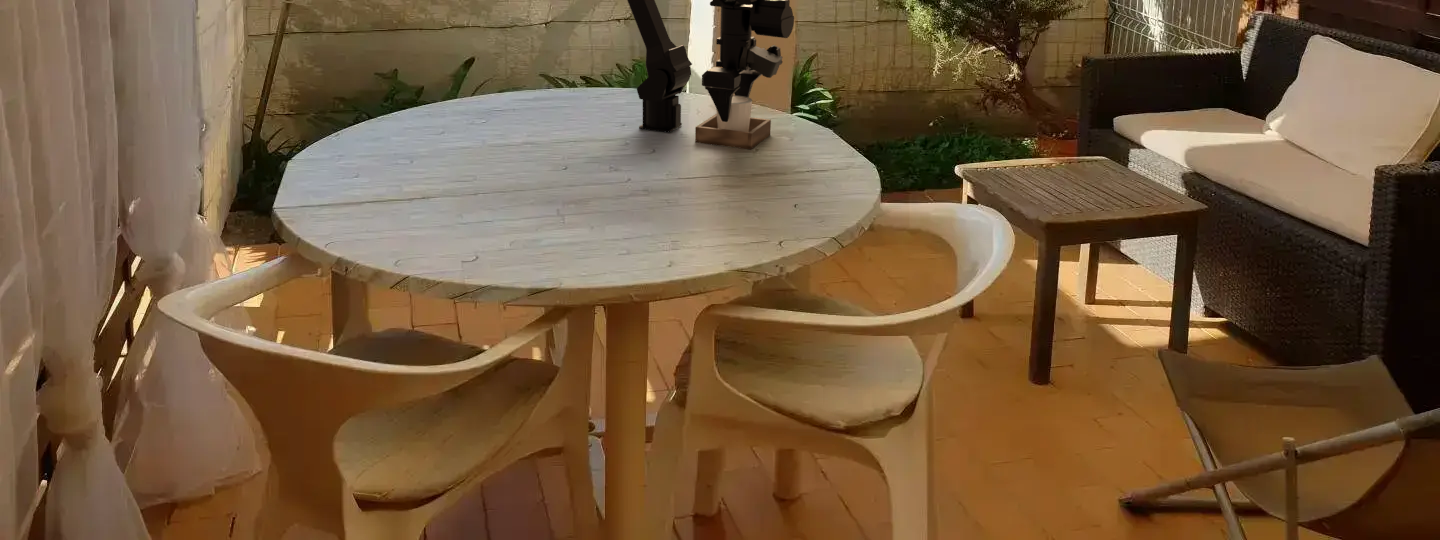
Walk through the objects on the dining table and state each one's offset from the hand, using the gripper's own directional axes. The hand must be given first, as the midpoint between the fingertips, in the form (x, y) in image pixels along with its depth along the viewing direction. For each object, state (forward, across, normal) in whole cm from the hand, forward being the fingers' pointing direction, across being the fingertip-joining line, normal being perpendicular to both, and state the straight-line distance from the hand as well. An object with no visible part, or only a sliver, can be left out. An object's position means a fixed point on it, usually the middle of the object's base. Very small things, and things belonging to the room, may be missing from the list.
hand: (733, 115), depth 236 cm
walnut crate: (+4, 0, 0) cm, 4 cm away
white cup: (+4, 0, 0) cm, 4 cm away
